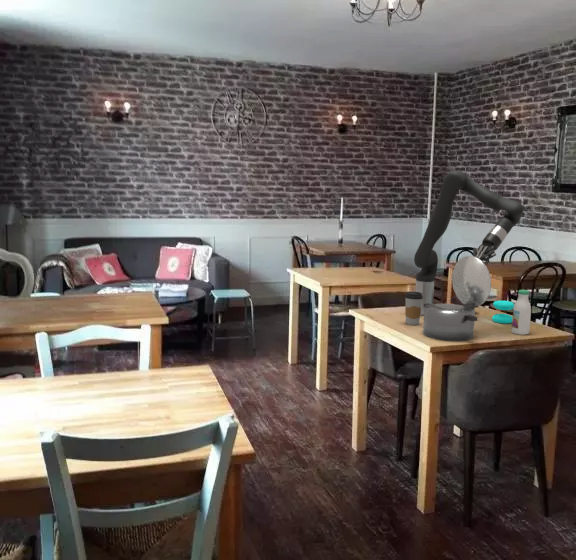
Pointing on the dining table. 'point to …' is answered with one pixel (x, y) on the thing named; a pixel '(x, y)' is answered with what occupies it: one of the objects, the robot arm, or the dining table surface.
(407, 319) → the coffee cup
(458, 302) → the pine cone
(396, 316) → the dining table surface
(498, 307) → the donuts
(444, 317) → the cooking pot
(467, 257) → the lid
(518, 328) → the milk bottle
